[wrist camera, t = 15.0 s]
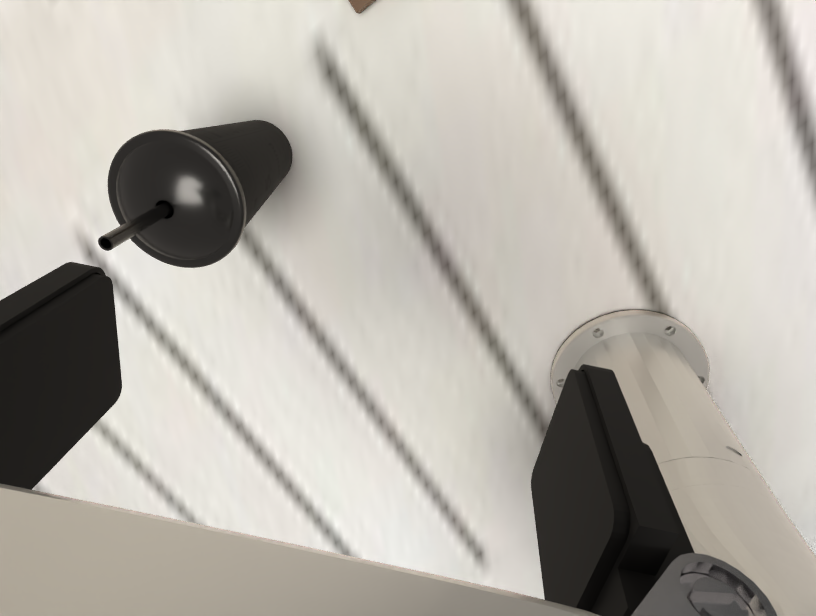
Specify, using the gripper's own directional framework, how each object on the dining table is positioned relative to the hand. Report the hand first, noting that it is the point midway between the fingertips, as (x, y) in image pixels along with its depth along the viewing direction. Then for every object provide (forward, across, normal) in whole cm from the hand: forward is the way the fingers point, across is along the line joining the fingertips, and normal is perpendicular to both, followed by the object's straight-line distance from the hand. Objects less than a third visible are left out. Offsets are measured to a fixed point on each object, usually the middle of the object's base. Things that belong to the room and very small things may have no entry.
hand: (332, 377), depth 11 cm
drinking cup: (+32, +13, +4) cm, 35 cm away
